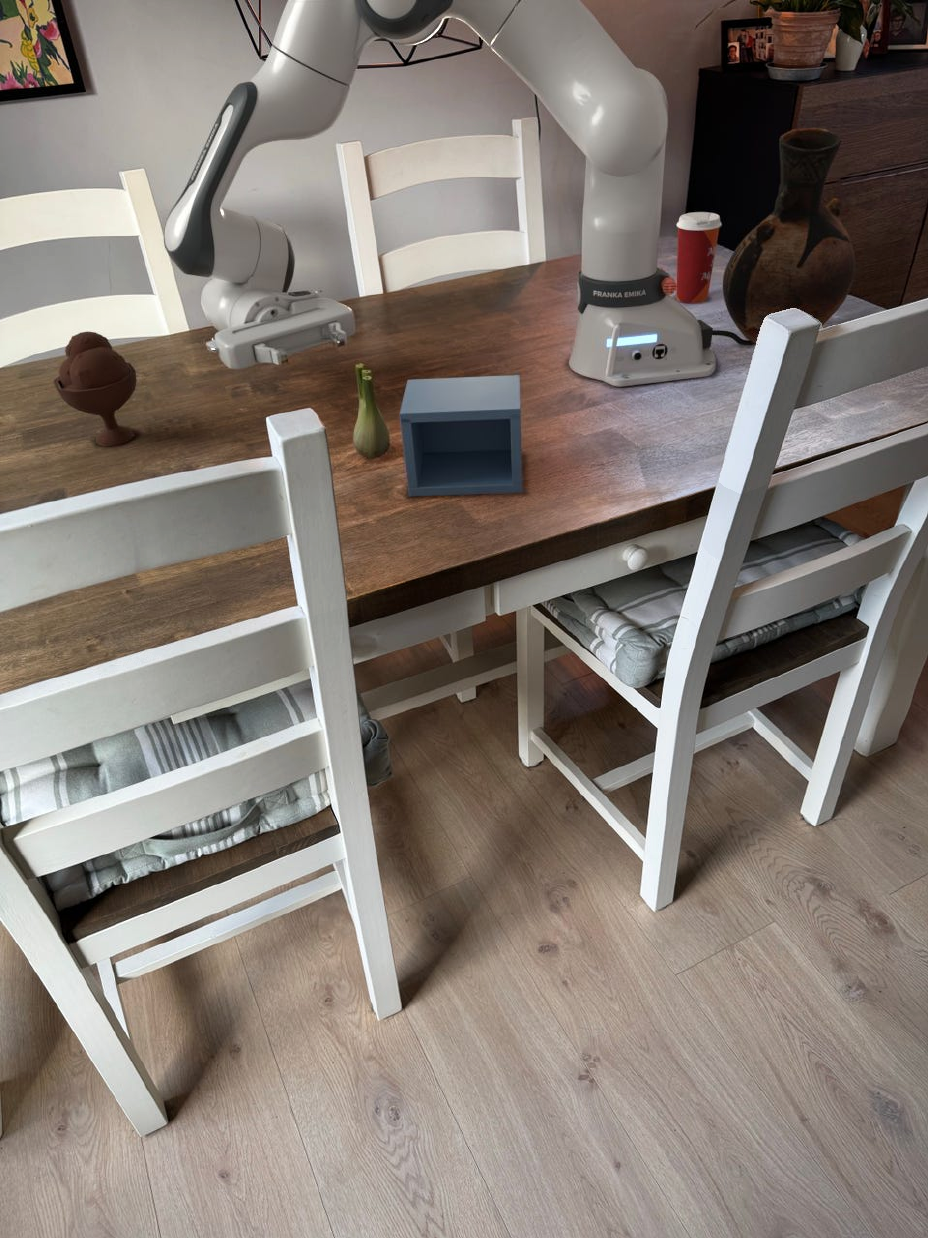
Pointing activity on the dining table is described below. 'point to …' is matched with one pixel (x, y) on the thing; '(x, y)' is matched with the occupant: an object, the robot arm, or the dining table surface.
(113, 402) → the ice cream bowl
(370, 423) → the fennel bulb
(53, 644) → the dining table surface
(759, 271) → the ceramic vessel
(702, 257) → the paper cup
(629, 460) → the dining table surface
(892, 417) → the dining table surface
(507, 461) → the box
